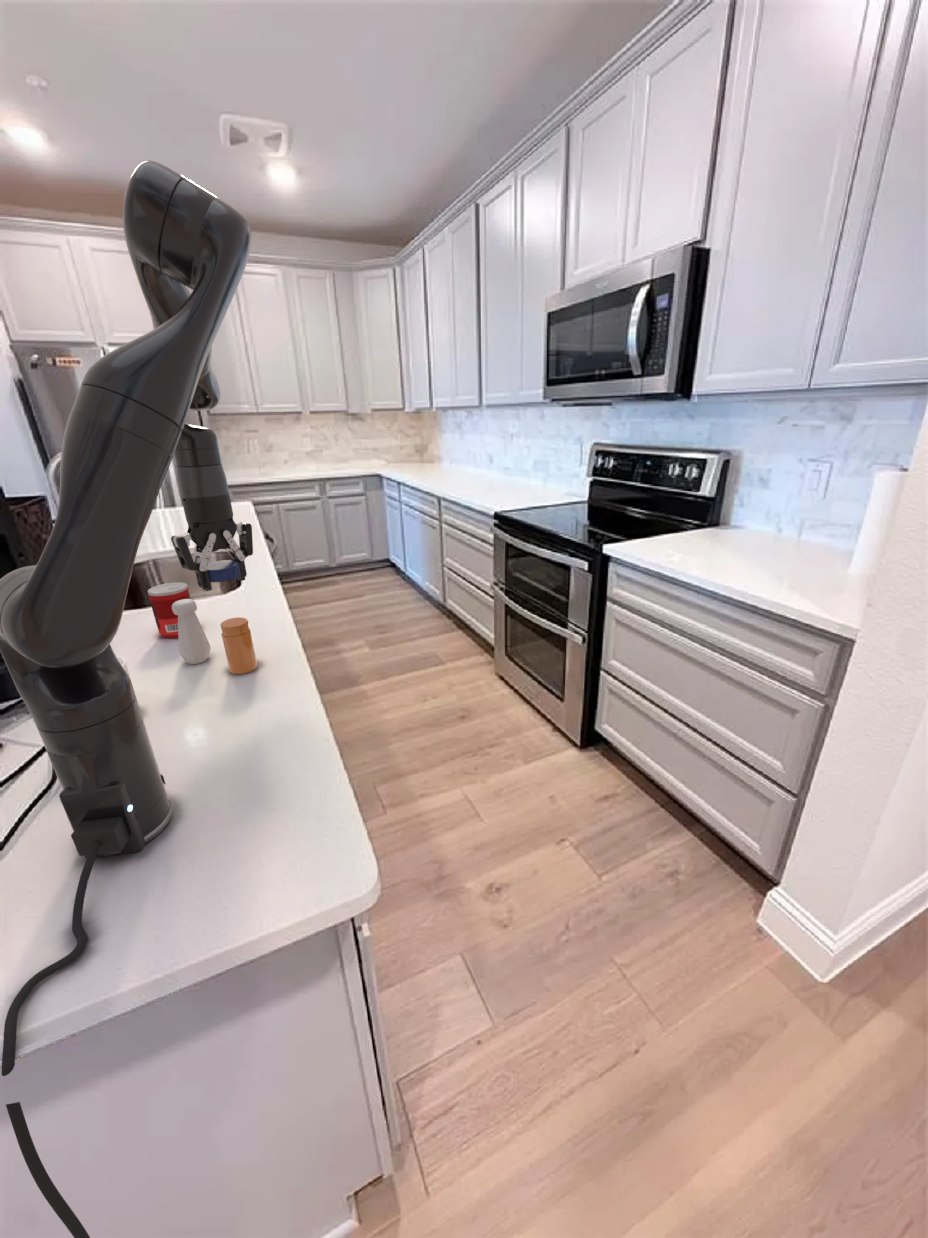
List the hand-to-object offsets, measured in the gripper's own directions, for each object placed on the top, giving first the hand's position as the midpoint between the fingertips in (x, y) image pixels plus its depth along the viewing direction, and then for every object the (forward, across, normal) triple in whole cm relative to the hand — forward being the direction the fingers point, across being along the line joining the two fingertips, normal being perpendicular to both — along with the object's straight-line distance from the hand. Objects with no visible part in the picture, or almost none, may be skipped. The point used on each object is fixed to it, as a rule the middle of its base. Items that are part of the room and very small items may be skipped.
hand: (224, 584), depth 93 cm
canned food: (+18, -3, -30) cm, 35 cm away
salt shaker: (+18, +2, -12) cm, 22 cm away
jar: (+18, -1, -1) cm, 18 cm away
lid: (-3, 0, 0) cm, 3 cm away
